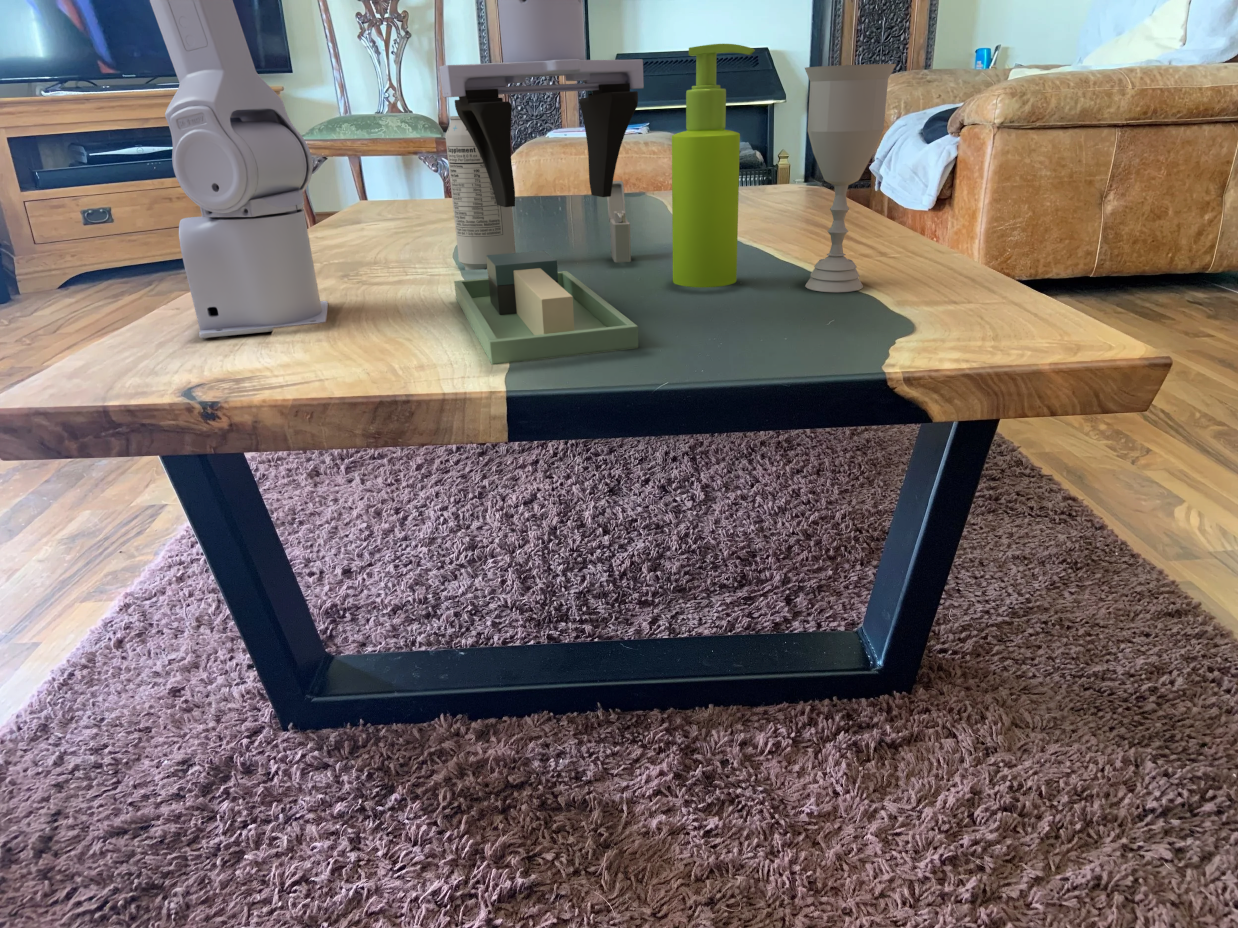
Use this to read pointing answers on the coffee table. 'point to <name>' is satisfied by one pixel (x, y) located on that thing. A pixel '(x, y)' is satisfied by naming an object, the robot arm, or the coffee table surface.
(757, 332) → the coffee table surface
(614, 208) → the lighter
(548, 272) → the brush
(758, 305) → the coffee table surface
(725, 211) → the soap dispenser
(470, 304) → the tray
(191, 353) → the coffee table surface
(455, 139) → the energy drink can
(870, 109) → the chalice
